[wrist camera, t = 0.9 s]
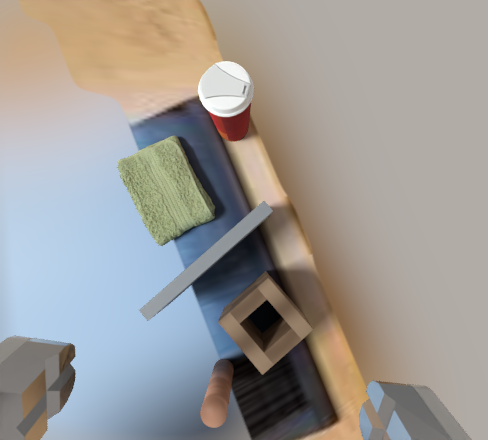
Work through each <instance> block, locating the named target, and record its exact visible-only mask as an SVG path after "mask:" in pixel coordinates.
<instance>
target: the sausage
mask: <svg viewBox="0 0 488 440" xmlns="http://www.w3.org/2000/svg"><path fill="white" fill-rule="evenodd" d="M233 371H234V368H233V365H232V363H231V362H230V361H229V360H227V359H221V360H219V361H217V362H216V364H215V366H214V369H213V372H212V375H211V379H210V382H209V385H208V389H207V392H206V395H205V398H204V402H203V405H202V408H201V412H200V413H201V419H202V421H203V422H204V423H205V425H207V426H209V427H212V428H215V427H219V426H221V425H222V424H223V423H224V422H225V420H226V416H227V410H228V404H229V397H230V391H231V384H232V378H233Z"/></svg>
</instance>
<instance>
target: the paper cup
mask: <svg viewBox="0 0 488 440" xmlns="http://www.w3.org/2000/svg"><path fill="white" fill-rule="evenodd" d="M198 93H199V96H200V99H201V102H202V104H203V105H204V107H205V108H206V109H207V110H208V111H209V113H210V115H211V117H212V119H213V121H214V123H215V125H216V127H217V129H218V131H219V133H220V134H221V136H222V137H223V138H224V139H226V140H228V141H238V140H240V139H242V138H243V137H244V136H245V135H246V133H247V131H248V125H249V116H250V107H251V100H252V98H253V94H254V86H253V82H252V79H251V77H250V76H249V74H248V73H247V72H246V71H245V69H244V68H242V67H241V66H240V65H238V64H236V63H233V62H229V61H223V62H219V63H216V64H214V65H213V66H212V67H210V68H209V69H208V70H207V71H206V72H205V73H204V75H203V76H202V78H201V80H200V82H199V86H198Z"/></svg>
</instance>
